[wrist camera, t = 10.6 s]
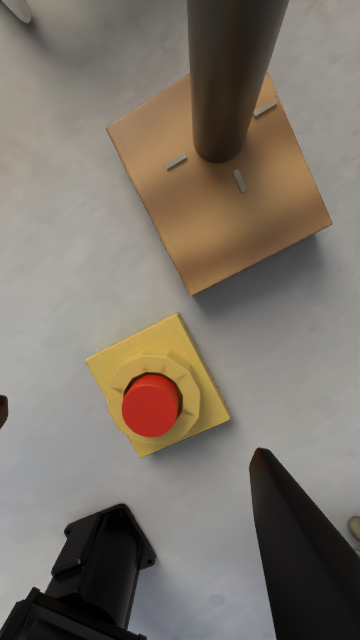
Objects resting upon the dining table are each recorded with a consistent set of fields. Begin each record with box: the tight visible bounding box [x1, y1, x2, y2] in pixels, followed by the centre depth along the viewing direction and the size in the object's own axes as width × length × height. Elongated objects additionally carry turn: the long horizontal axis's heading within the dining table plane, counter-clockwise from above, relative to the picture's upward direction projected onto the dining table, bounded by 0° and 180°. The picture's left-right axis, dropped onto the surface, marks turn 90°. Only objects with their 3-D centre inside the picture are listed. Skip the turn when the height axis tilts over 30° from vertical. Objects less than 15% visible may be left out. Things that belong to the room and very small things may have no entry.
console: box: [106, 72, 332, 296], centre depth 17 cm, size 12×10×3 cm
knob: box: [187, 0, 289, 163], centre depth 10 cm, size 3×3×9 cm
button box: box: [85, 312, 231, 458], centre depth 19 cm, size 9×8×4 cm
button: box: [121, 375, 179, 437], centre depth 16 cm, size 4×4×2 cm
